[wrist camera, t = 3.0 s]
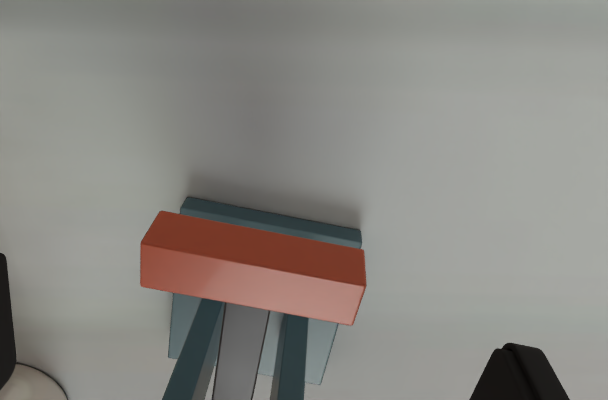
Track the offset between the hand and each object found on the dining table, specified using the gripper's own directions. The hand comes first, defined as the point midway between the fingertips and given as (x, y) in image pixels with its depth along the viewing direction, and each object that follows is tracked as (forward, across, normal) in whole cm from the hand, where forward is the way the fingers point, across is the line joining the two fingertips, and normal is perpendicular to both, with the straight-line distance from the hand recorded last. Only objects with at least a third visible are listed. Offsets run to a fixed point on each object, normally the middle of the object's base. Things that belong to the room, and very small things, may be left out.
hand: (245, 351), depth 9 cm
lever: (+4, 0, +5) cm, 6 cm away
